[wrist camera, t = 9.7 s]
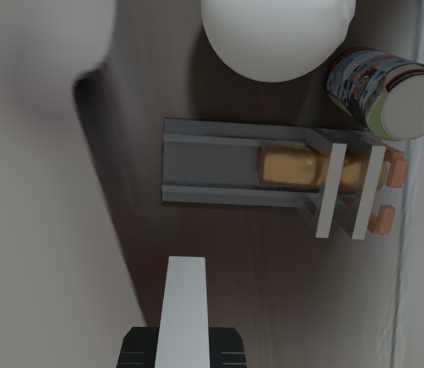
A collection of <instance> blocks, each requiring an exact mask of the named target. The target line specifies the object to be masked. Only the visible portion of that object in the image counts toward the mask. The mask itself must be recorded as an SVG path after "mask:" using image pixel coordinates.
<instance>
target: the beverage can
mask: <svg viewBox="0 0 424 368" xmlns="http://www.w3.org/2000/svg"><path fill="white" fill-rule="evenodd" d="M326 91H327V94H328V96H329V98H330V99H331V101H332V102H333V103H334V104H336V105H337V106H338V107H340V108H341V109H342V110H344V111H345V112H346V113H348V114H349V115H350V116H352V117H353V118H354V119H355V120H357V121H358V122H359V123H361V124H362V125H363V126H365V127H366V128H367V129H369V130H370V131H371V132H373V133H374V134H375V135H377V136H378V137H380V138H383V139H385V140H390V141H402V140H414V139H417V138H420V137H422V136H424V64H420V63H417V62H414V61H410V60H407V59H404V58H400V57H397V56H394V55H391V54H387V53H384V52H381V51H377V50H374V49H371V48H366V47H357V48H353V49H350V50H348V51H346V52H344V53H342V54H341V55H340V56H339V57H338V58H337V59H336V60H335V61H334V62H333V64H332V65H331V67H330V69H329V71H328V73H327V77H326Z"/></svg>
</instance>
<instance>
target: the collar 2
mask: <svg viewBox="0 0 424 368" xmlns="http://www.w3.org/2000/svg"><path fill="white" fill-rule="evenodd" d="M339 140H340V141H342V142H344V143H346V144H347V146H346V149H347V150H349V151H350V152H352V153H354V154H356V155H357V156H359V157H361V158H362V159H363V161H362V165H361V170H360V175H359V179H358V184H357V188H356V193H355V197H354V202H353V207H352V210H351V209H350V208H349V207H348V206H347V205H346V204H345V203H344V202H343V201H342V200H339V199H336V201H335V206H334V211H333V216H332V217H333V218H334V219H335V220H336V222H337V223H338V224H339V225H340V226H341V227H342V228H343V229H344V231H345V232H346V233H347V234H348V235H349V236H350V237H351V239H364V238H365V234H366V230H367V225H368V221H369V217H370V213H371V209H372V204H373V200H374V196H375V192H376V188H377V183H378V179H379V175H380V171H381V167H382V162H383V158H384V154H385V150H386V146H384V145H382V144H380V143H377V142H375V141H373V140H371V139H369V138H366V137H364V136H362V135H360V134H358V133H355V132H353V131H348V130H340V134H339Z"/></svg>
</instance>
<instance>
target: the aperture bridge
mask: <svg viewBox="0 0 424 368" xmlns="http://www.w3.org/2000/svg"><path fill="white" fill-rule="evenodd" d="M364 137H366V138H369V139H371V140H373V141H375V142H377V143H380V144H382V145H384V146H386V150H385V154H384V158H383V159H384V160H386V161H388V162H390V163H391V165H390V169H389V173H388V177H387V181H386V185H387V186H389V187H390V188H401V187H402V183H403V180H404V176H405V172H406V168H407V164H408V160H406V159H403V157H404V154H405V153H404V152H402V151H399V150H397V149H395V148H393V147H390V146H388V145H386V144H384V143H381V142H379V141H377V140H375V139H372V138H370V137H368V136H364ZM353 202H354V200H349V201H345V204H346V205H347V206H348V207H349V208H350V209H351V210H352V207H353ZM395 210H396V209H395V208H394V207H392V206H391V205H381V206H380V210H379V214H378V218H377V217H376V216H375V215H374V214H373V213H370V217H369V221H368V225H367V228H368V229H369V230H370V231H371V232H372V233H373V234H381V235H384V234H389V233H390V229H391V225H392V222H393V218H394V214H395Z"/></svg>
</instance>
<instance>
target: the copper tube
mask: <svg viewBox="0 0 424 368" xmlns="http://www.w3.org/2000/svg"><path fill="white" fill-rule="evenodd" d="M324 161H325V156H324V155H322V154H321V153H320V152H318V151H317V150H316V149H314V148H302V147H286V146H271V145H263V146H262V147H261V150H260V154H259V160H258V180H259V183H260V184H263V185H280V186H298V187H315V188H320V183H321V177H322V172H323V166H324ZM362 161H363V159H362V158H361V157H359V156H357V155H356V154H354V153H352V152H350V151H348V150H346V151H345V156H344V161H343V166H342V171H341V176H340V181H339V186H338V189H349V190H356V188H357V184H358V179H359V175H360V170H361V165H362ZM386 173H387V166H386V160H384V159H383V162H382V167H381V171H380V175H379V179H378V183H377V188H376V191H377V190H379V189H380V188H381V187H382V186H383V184H384V181H385V178H386Z"/></svg>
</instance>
